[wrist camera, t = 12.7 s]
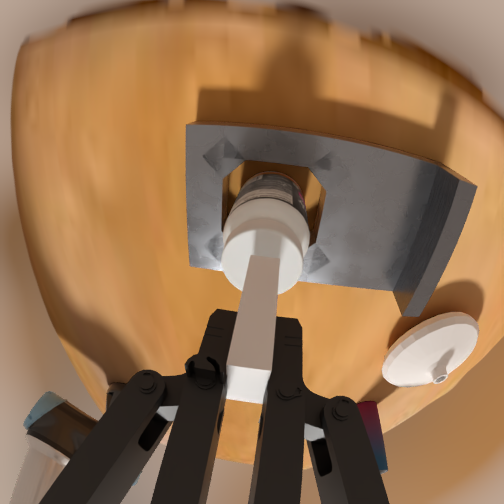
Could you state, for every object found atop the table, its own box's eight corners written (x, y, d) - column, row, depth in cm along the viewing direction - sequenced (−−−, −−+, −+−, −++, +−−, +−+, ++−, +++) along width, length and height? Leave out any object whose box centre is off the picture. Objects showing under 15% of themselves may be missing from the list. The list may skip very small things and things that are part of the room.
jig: (197, 252, 27) (177, 290, 22) (196, 121, 20) (167, 131, 15) (401, 277, 26) (419, 316, 21) (441, 163, 19) (477, 186, 14)
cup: (359, 397, 41) (364, 472, 29) (387, 399, 41) (395, 468, 29) (341, 412, 45) (342, 479, 32) (368, 413, 45) (373, 476, 33)
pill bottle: (302, 229, 25) (309, 305, 16) (240, 228, 25) (218, 302, 17) (304, 169, 22) (317, 222, 13) (236, 169, 22) (205, 220, 14)
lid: (480, 286, 26) (503, 323, 20) (460, 353, 33) (472, 386, 27) (377, 319, 30) (388, 365, 24) (378, 379, 37) (384, 415, 32)
